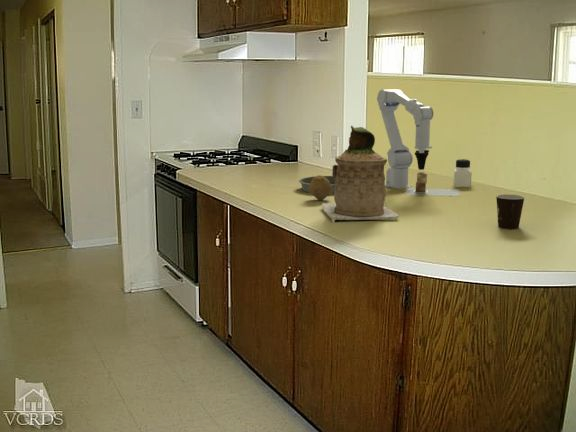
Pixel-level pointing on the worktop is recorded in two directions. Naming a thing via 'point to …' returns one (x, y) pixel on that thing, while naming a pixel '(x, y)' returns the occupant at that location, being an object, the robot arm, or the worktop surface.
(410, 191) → the grey flat slab
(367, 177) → the cookie jar
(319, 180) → the natural sponge
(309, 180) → the cake pan
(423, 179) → the maple block
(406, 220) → the worktop surface
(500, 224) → the coffee mug
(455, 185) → the medicine bottle
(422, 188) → the walnut block
